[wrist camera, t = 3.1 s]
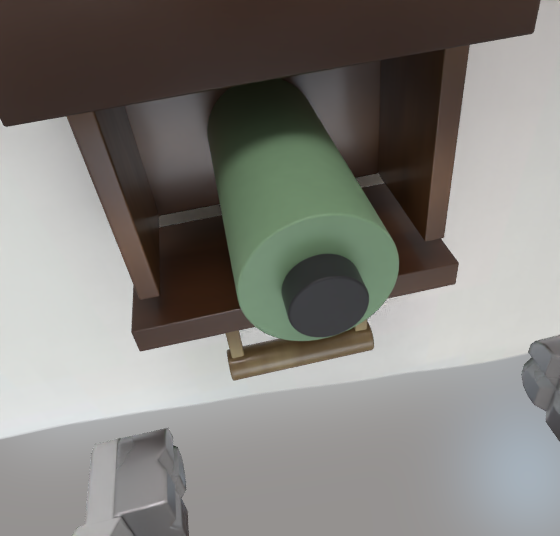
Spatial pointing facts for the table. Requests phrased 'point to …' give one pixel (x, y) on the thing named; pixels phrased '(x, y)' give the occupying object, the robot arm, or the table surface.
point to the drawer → (203, 192)
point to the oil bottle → (295, 217)
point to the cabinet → (215, 44)
